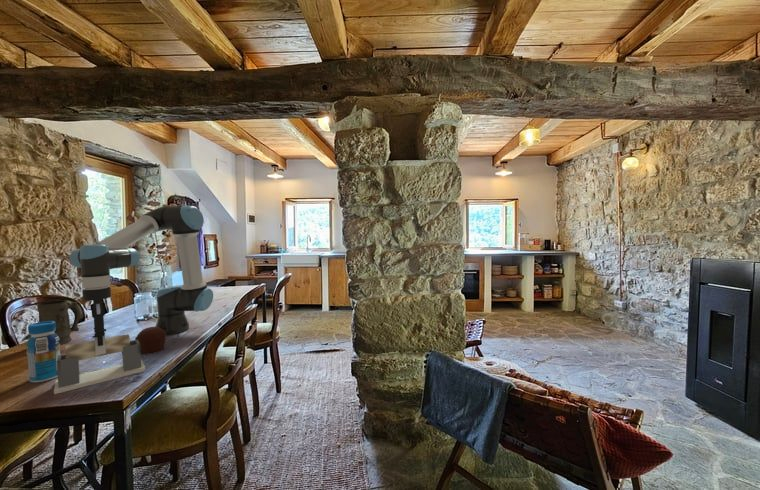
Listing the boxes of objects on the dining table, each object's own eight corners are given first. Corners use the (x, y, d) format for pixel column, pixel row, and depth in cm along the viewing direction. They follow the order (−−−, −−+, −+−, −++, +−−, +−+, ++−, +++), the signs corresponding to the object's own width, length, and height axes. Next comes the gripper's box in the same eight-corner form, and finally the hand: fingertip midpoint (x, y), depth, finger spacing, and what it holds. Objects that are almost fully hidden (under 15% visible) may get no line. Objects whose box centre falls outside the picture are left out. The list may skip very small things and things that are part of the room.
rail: (129, 347, 121) (128, 334, 121) (130, 349, 118) (129, 336, 118) (66, 359, 110) (65, 345, 110) (66, 362, 107) (65, 348, 107)
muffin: (132, 351, 139) (131, 328, 138) (161, 343, 148) (160, 322, 147) (141, 357, 132) (140, 334, 131) (171, 349, 141) (170, 327, 140)
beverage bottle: (21, 383, 111) (16, 327, 110) (46, 372, 119) (42, 320, 118) (45, 383, 111) (41, 326, 110) (69, 372, 119) (65, 319, 118)
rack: (142, 362, 127) (140, 337, 126) (145, 370, 119) (143, 344, 119) (56, 383, 111) (54, 355, 110) (54, 394, 103) (51, 363, 103)
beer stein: (48, 348, 144) (48, 304, 144) (30, 347, 146) (30, 303, 146) (86, 339, 159) (86, 298, 159) (69, 337, 161) (69, 298, 161)
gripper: (82, 286, 117) (86, 348, 118) (82, 292, 104) (86, 362, 106) (109, 283, 122) (112, 343, 123) (111, 289, 109) (115, 356, 111)
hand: (100, 352), depth 114 cm, fingers closed on rail, 4 cm apart
